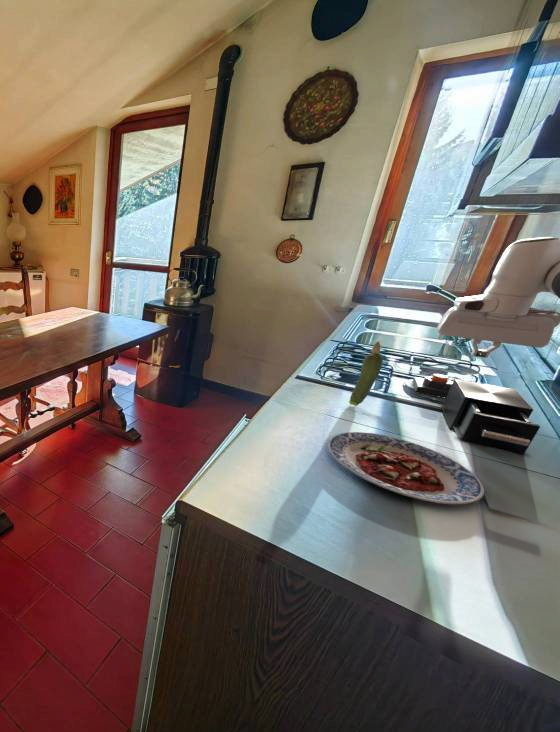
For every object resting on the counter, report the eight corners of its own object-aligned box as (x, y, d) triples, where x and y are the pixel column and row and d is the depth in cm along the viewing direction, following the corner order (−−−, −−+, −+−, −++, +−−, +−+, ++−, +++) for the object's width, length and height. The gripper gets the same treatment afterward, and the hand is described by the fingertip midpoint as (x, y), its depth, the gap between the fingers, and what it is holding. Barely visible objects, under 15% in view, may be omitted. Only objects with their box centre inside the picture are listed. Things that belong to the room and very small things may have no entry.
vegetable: (354, 401, 117) (378, 337, 108) (369, 408, 113) (395, 342, 105) (344, 403, 115) (367, 339, 107) (358, 410, 111) (383, 343, 103)
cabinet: (513, 444, 95) (533, 409, 92) (449, 429, 102) (465, 396, 98) (497, 421, 106) (515, 389, 102) (440, 409, 113) (454, 378, 109)
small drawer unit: (529, 465, 86) (547, 435, 83) (464, 449, 91) (479, 420, 88) (506, 432, 99) (521, 404, 96) (450, 420, 105) (463, 393, 102)
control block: (452, 390, 125) (457, 378, 123) (458, 401, 118) (464, 389, 116) (411, 382, 130) (416, 371, 129) (415, 392, 123) (420, 381, 121)
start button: (445, 380, 123) (447, 375, 122) (447, 384, 120) (449, 378, 119) (430, 377, 125) (432, 372, 124) (431, 381, 122) (434, 376, 121)
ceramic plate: (513, 527, 70) (521, 514, 69) (344, 493, 78) (349, 481, 77) (438, 451, 92) (444, 441, 91) (313, 431, 100) (317, 421, 99)
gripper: (560, 308, 95) (531, 361, 101) (447, 298, 106) (427, 346, 112) (571, 313, 91) (540, 368, 96) (452, 301, 101) (430, 352, 107)
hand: (478, 356), depth 104 cm, fingers closed
